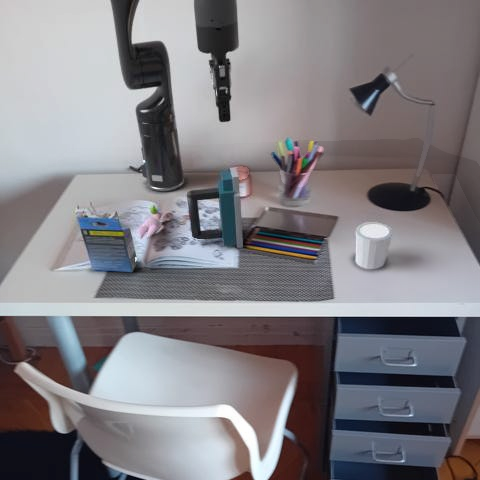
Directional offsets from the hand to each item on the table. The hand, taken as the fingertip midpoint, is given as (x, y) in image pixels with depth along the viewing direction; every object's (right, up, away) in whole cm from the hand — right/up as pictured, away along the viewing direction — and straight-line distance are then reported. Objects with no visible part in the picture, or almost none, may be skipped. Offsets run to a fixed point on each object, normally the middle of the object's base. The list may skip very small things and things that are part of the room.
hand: (223, 113), depth 99 cm
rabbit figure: (-16, -21, +14) cm, 30 cm away
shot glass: (+29, -29, +1) cm, 41 cm away
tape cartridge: (-22, -30, +4) cm, 38 cm away
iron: (+3, -17, +5) cm, 18 cm away
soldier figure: (-30, -18, +19) cm, 40 cm away
